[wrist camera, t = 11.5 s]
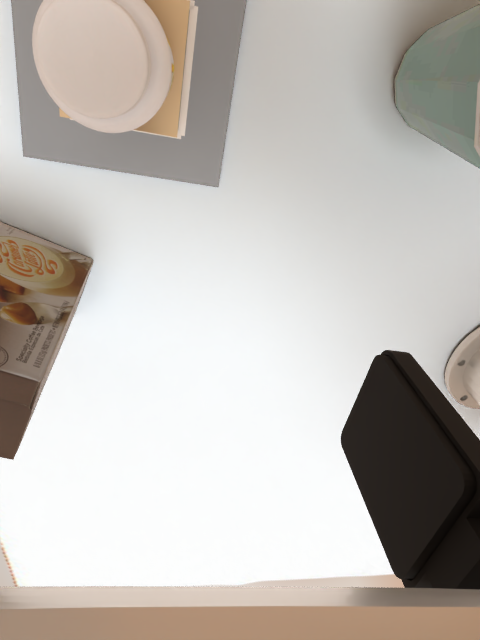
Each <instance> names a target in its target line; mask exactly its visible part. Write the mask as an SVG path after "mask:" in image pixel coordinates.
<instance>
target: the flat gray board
mask: <svg viewBox="0 0 480 640" xmlns="http://www.w3.org/2000/svg"><path fill="white" fill-rule="evenodd" d="M189 1H190V8H189V18H188V29H187V39H186V49H185V60H184V70H183V81H182V91H181V101H180V112H179V122H178V133H177V137H171V136H165V135H160V134H154V133H149V132H143V131H138V130H131V131H127V132H122V133H105V132H100V131H96V130H93V129H90V128H87V127H85V126H83V125H81V124H80V123H78V122H76V121H75V120H73V119H70V118H65V117H60V114H59V106H58V105H57V104H56V103H55V102H54V101H53V99H52V98H51V97H50V95H49V94H48V92H47V91H46V89H45V87H44V85H43V83H42V81H41V79H40V77H39V74H38V71H37V68H36V65H35V61H34V56H33V47H32V33H33V25H34V21H35V17H36V14H37V12H38V9H39V7H40V5H41V3H42V2H43V0H11V5H12V17H13V30H14V43H15V56H16V69H17V82H18V95H19V107H20V120H21V133H22V146H23V156H24V157H30V158H37V159H43V160H49V161H55V162H62V163H68V164H74V165H81V166H87V167H93V168H100V169H106V170H112V171H119V172H125V173H131V174H138V175H144V176H150V177H157V178H163V179H169V180H175V181H182V182H188V183H194V184H201V185H207V186H213V187H218V185H219V179H220V172H221V165H222V159H223V152H224V146H225V139H226V132H227V126H228V119H229V112H230V106H231V99H232V92H233V86H234V79H235V73H236V66H237V59H238V53H239V46H240V39H241V33H242V26H243V19H244V13H245V6H246V0H189Z"/></svg>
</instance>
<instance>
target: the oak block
mask: <svg viewBox="0 0 480 640" xmlns="http://www.w3.org/2000/svg"><path fill="white" fill-rule="evenodd" d="M144 1H145V2H146V3H147V5H148V6H149V7H150V8H151V9H152V11H153V12H154V14H155V15H156V17H157V18H158V20H159V22H160V24H161V26H162V28H163V30H164V32H165V35H166V37H167V39H168V41H169V44H170V47H171V51H172V55H173V61H174V76H173V82H172V86H171V89H170V91H169V93H168V96H167V97H166V99H165V101H164V103H163V104H162V106H161V108H160V109H159V111H158V112H157V113H156V114H155V115H154V116H153V117H152V118H151V119H150V120H149V121H148V122H147V123H145V124H144V125H142V126H140V127H138V128H136V129H134V130H138V131H143V132H149V133H154V134H160V135H165V136H171V137H177V133H178V122H179V112H180V101H181V91H182V81H183V70H184V60H185V49H186V39H187V29H188V18H189V8H190V1H189V0H144ZM59 114H60V117H65V118H70V119H72V118H71V117H69V116H68V115H67V114H66V113H65V112H63V111H62V110H61V109H60V108H59Z"/></svg>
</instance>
